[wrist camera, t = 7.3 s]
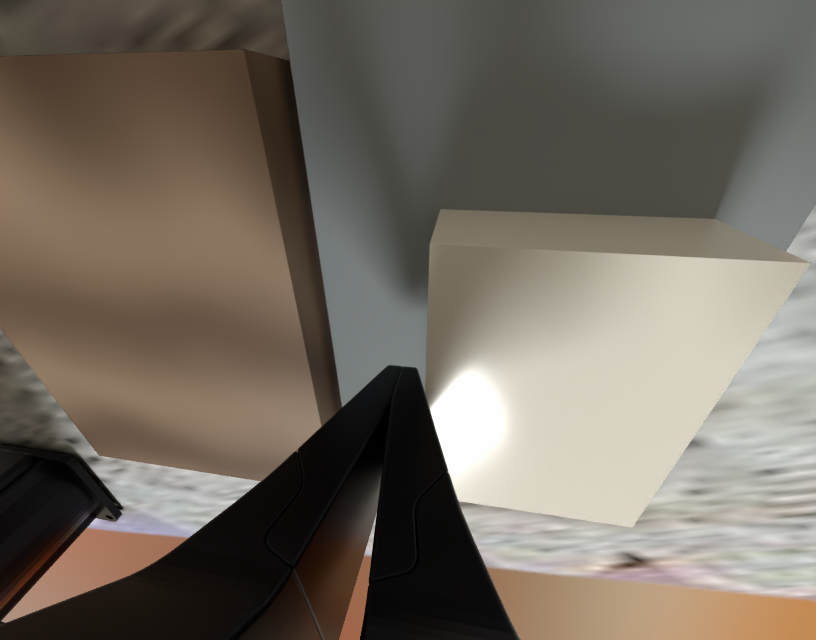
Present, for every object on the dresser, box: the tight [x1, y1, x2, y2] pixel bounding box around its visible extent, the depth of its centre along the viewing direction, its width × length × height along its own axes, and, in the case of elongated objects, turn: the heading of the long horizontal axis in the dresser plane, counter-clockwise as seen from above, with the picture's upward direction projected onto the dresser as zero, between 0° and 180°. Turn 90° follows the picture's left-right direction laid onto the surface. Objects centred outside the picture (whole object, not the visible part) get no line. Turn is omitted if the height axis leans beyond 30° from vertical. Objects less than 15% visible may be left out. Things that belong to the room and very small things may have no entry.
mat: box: [281, 0, 816, 407], centre depth 10 cm, size 16×11×1 cm
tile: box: [425, 209, 811, 527], centre depth 9 cm, size 8×6×2 cm
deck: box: [0, 49, 342, 481], centre depth 11 cm, size 14×11×2 cm
